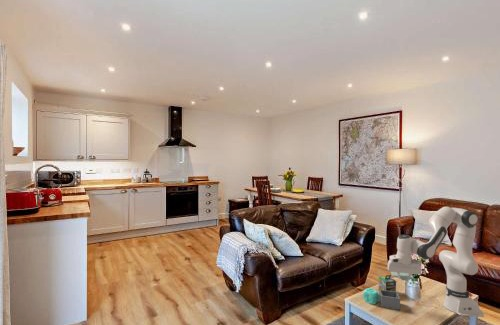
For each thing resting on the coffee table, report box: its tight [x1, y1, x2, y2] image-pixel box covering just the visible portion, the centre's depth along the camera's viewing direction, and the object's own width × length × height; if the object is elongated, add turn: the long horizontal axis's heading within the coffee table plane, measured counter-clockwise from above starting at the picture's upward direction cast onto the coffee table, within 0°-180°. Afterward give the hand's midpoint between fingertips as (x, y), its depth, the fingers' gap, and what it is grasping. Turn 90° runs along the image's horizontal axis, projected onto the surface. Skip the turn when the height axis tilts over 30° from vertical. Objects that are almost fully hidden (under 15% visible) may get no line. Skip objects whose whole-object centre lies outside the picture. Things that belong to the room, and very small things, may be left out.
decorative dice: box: [362, 287, 379, 305], centre depth 201 cm, size 8×8×8 cm
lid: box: [390, 272, 414, 282], centre depth 191 cm, size 13×15×3 cm
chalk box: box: [378, 274, 397, 292], centre depth 213 cm, size 9×9×15 cm
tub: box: [378, 288, 401, 311], centre depth 196 cm, size 12×10×8 cm
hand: (404, 278), depth 186 cm, fingers closed on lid, 3 cm apart
